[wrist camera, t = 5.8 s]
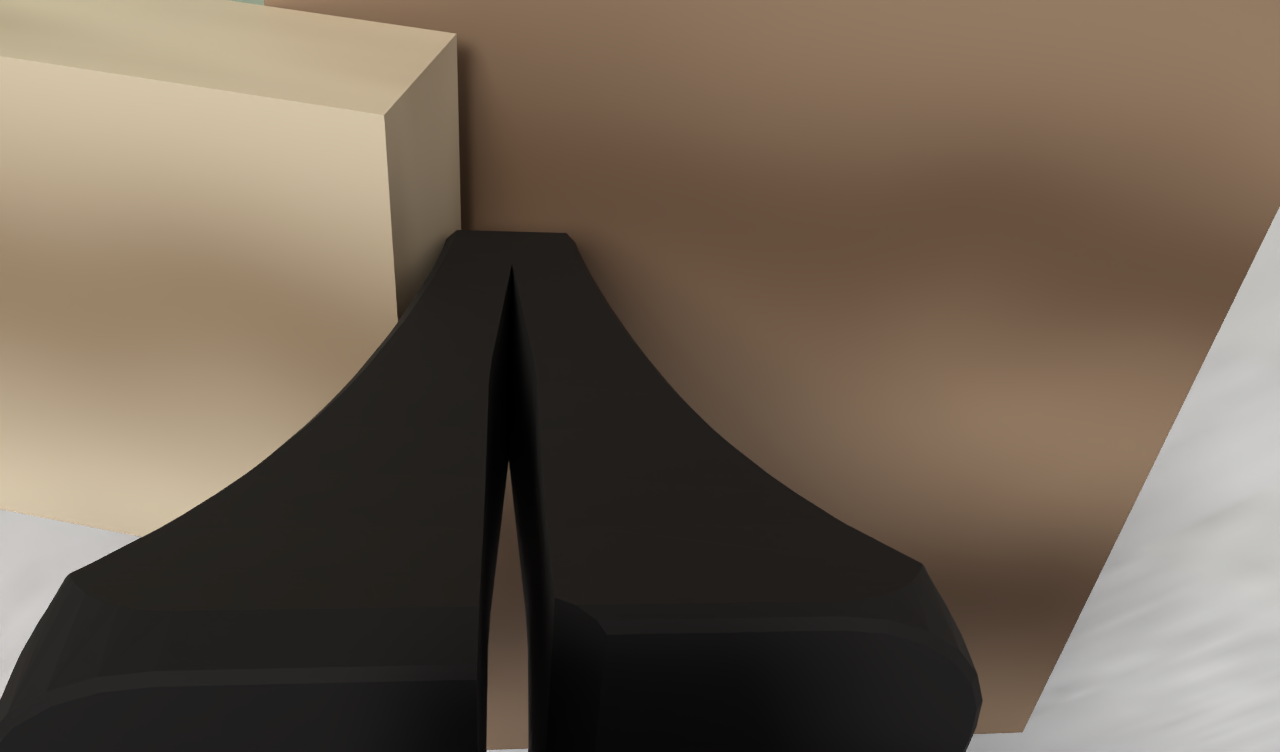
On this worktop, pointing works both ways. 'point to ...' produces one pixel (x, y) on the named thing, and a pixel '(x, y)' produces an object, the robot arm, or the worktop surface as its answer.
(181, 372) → the birch tile
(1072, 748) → the worktop surface
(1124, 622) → the worktop surface
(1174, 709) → the worktop surface
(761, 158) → the board
